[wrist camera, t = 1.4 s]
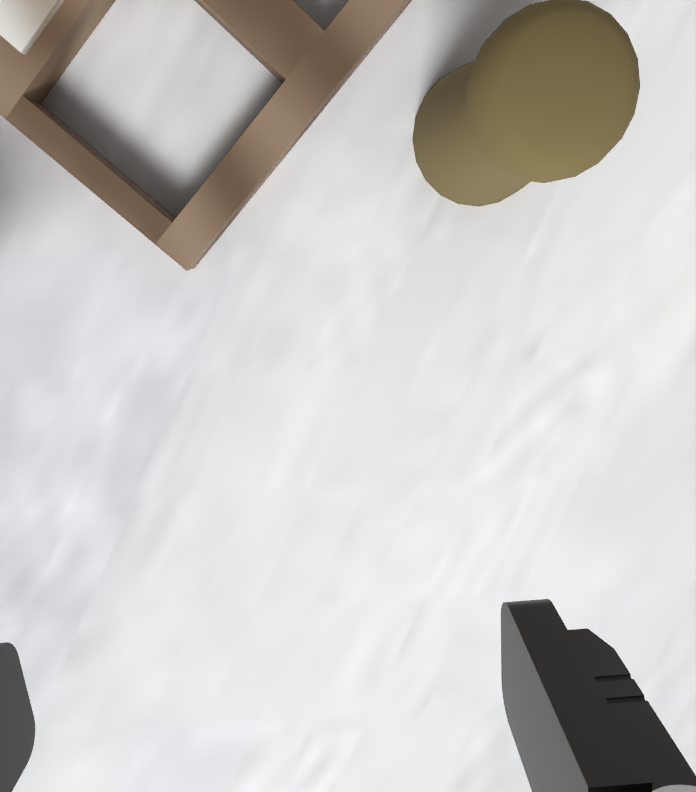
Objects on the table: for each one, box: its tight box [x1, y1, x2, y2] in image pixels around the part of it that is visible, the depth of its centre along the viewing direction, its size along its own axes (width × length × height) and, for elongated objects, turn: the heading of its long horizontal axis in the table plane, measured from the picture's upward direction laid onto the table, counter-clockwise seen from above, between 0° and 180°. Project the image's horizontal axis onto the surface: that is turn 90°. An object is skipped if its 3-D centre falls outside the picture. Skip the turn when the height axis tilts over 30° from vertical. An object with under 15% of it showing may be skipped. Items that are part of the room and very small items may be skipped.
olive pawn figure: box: [413, 0, 640, 206], centre depth 24 cm, size 6×6×11 cm
